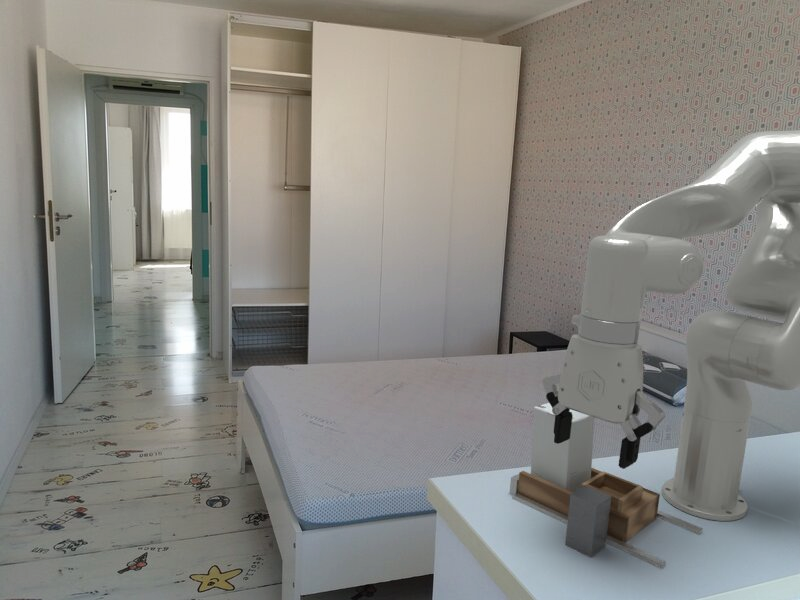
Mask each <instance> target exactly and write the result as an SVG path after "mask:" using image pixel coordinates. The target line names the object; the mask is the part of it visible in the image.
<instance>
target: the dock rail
mask: <svg viewBox="0 0 800 600" xmlns="http://www.w3.org/2000/svg"><path fill="white" fill-rule="evenodd" d="M518 483H519V473H517V474H516V475H513V476H511V477H510V483H509V495H512V499H513V500H514V501H517V502H519V503H521V504H523V505H526V506H527V507H530V508H532V509H534V510H536V511H538V512H540V513H542V514H544V515H547V516H549V517H551V518H553V519H555V520H557V521H559V522H561V523H563V524H565V525H567V523H568V516H566V515H563V514H561V513H559V512H557V511H555V510H553V509H550V508H548V507H546V506H544V505H542V504H539V503H537V502H535V501H533V500H531V499H529V498H526V497H524V496H522V495H520V494H518ZM657 518H658V519H661V520H664V521H665V522H668V523H670V524H673V525H675V526H677V527H680V528H681V529H684V530H687V531H690V532H692V533H695V534H697V535H702V533H703V529H704V528H702V527H700V526H698V525H695V524H693V523H691V522H688V521H685V520H683V519H681V518H678V517H675V516H673V515H671V514H668V513H666V512H664V511H662V510H659V509H658V512H657ZM606 544H608V545H610V546H613V547H615V549H616V548H617V549H619V550H620V551H624V552H625V553H628V554H630V555H631V556H634V557H636V558H638V559H640V560H642V561H645V562H646V563H648V564H651V565H653V566H655V567H657V568H659V569H661V570H663V569H664V568H665V567H666V565H667V561H665V560H663V559H661V558H658V557H656V556H654V555H652V554H650V553H648V552H646V551H644V550H642V549H640V548H637V547H634V546H633V545H630V544H628V543H626V542H625V543H624V542H622V541H620V540H618V539H615V538H613V537H611V536H609V535H607V538H606Z"/></svg>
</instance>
